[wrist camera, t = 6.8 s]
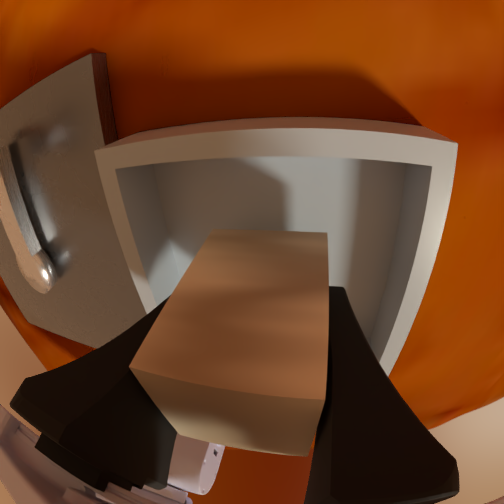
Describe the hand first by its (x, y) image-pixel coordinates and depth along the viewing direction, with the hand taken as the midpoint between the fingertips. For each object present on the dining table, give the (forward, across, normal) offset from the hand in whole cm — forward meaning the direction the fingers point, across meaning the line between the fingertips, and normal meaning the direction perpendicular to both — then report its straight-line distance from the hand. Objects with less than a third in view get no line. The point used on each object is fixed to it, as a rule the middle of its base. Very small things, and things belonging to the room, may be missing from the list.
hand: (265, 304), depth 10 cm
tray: (+3, 0, 0) cm, 3 cm away
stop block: (+1, 0, 0) cm, 1 cm away
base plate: (+3, +17, 0) cm, 17 cm away
